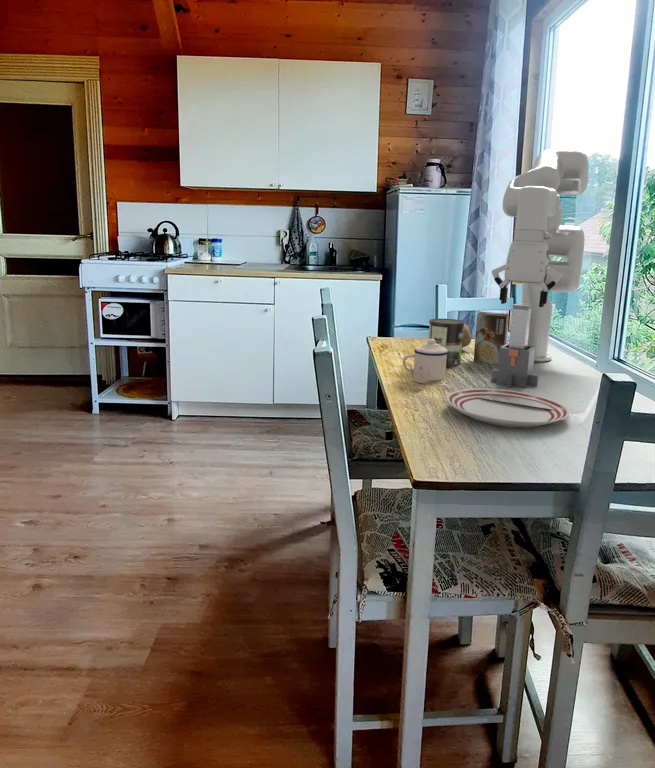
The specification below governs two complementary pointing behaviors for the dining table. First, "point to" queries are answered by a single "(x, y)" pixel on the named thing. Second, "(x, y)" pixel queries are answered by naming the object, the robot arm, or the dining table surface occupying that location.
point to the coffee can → (448, 338)
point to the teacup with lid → (428, 362)
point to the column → (520, 326)
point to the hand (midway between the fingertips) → (522, 305)
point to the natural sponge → (466, 336)
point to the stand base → (515, 367)
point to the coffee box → (490, 336)
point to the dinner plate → (506, 408)
